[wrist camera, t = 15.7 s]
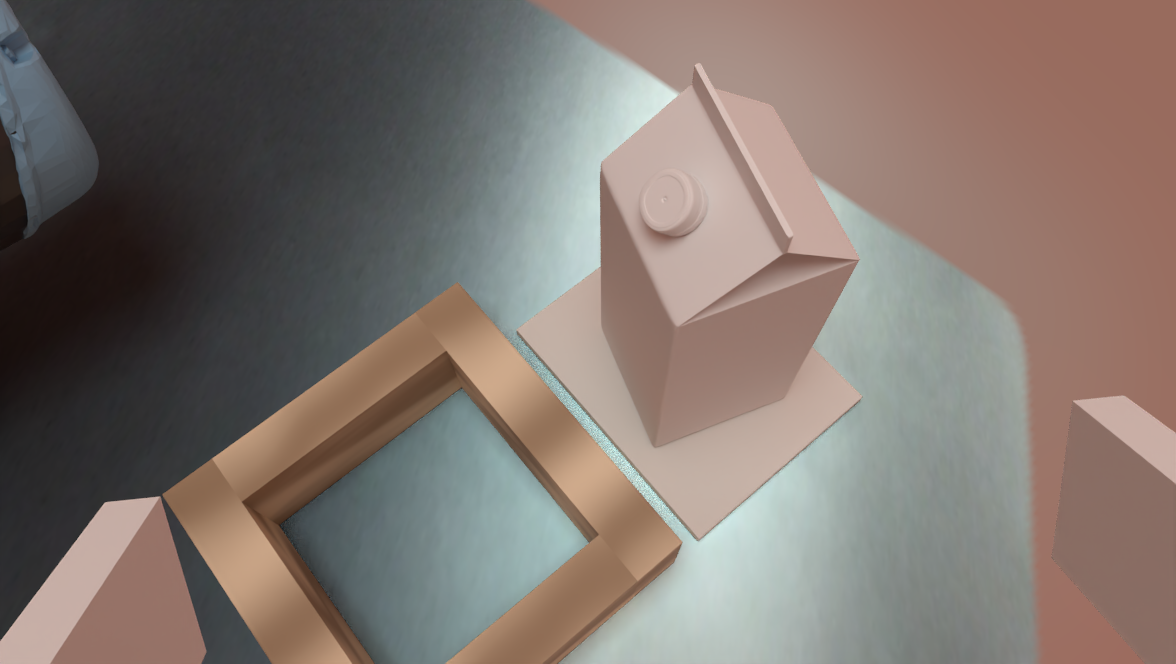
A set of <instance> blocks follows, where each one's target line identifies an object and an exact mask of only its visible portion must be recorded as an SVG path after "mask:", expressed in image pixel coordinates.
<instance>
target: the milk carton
mask: <svg viewBox="0 0 1176 664" xmlns="http://www.w3.org/2000/svg"><path fill="white" fill-rule="evenodd" d="M600 225H601V326H602V330H603V332H604V335H605V337H606V340H607V342H608V344H609V347H610V349H611V351H612V354H613V356H614V358H615V360H616V363H617V365H618V367H619V370H620V372H621V374H622V377H623V379H624V381H625V384H626V386H627V388H628V391H629V393H630V395H631V398H632V400H633V402H634V404H635V407H636V409H637V411H638V414H639V416H640V418H641V421H642V423H643V425H644V428H645V430H646V432H647V434H648V437H649V439H650V441H651V443H652V445H653V446H654V447H658V446H661V445H663V444H666V443H668V442H671V441H674V440H676V439H679V438H681V437H684V436H687V435H689V434H692V433H694V432H697V431H700V430H702V429H705V428H707V427H710V426H712V425H715V424H718V423H720V422H723V421H725V420H728V419H731V418H733V417H736V416H738V415H741V414H744V413H746V412H749V411H751V410H754V409H757V408H759V407H762V406H764V405H767V404H770V403H772V402H775V401H777V400H780V399H783V398H784V397H785V395H786V394H787V392H788V390H789V388H790V386H791V384H792V383H793V381H794V379H795V377H796V375H797V373H798V371H799V370H800V368H801V366H802V364H803V362H804V360H805V359H806V357H807V355H808V353H809V351H810V349H811V348H812V346H813V344H814V342H815V340H816V338H817V337H818V335H819V333H820V331H821V329H822V327H823V326H824V324H825V322H826V320H827V318H828V316H829V314H830V313H831V311H832V309H833V307H834V305H835V303H836V302H837V300H838V298H839V296H840V294H841V292H842V291H843V289H844V287H845V285H846V283H847V281H848V280H849V278H850V276H851V274H852V272H853V270H854V268H855V267H856V265H857V263H858V261H859V260H860V259H859V257H858V255H857V253H856V251H855V249H854V247H853V246H852V244H851V242H850V240H849V239H848V237H847V235H846V233H845V232H844V230H843V228H842V226H841V225H840V223H839V221H838V219H837V218H836V216H835V214H834V212H833V211H832V209H831V207H830V205H829V204H828V202H827V200H826V198H825V197H824V195H823V193H822V191H821V190H820V188H819V186H818V184H817V183H816V181H815V179H814V177H813V176H812V174H811V172H810V170H809V169H808V167H807V165H806V163H805V162H804V160H803V158H802V156H801V155H800V153H799V151H798V149H797V148H796V146H795V144H794V142H793V141H792V139H791V137H790V136H789V134H788V132H787V130H786V129H785V127H784V125H783V123H782V121H781V120H780V118H779V117H778V115H777V113H776V111H775V110H774V108H773V107H772V106H771V105H769V104H766V103H763V102H759V101H756V100H752V99H749V98H745V97H742V96H739V95H735V94H732V93H728V92H725V91H722V90H718V89H715V88H713V86H712V84H711V82H710V80H709V78H708V77H707V75H706V73H705V71H704V69H703V67H702V66H701V64H700V63H698V64H695V66H694V73H693V81H692V84H691V85H690V86H689V87H688V88H687V89H686V90H684V91H683V92H682V93H681V94H680V95H679V96H677V97H676V98H675V99H674V100H673V101H672V102H670V103H669V104H668V105H667V106H666V107H665V108H663V109H662V110H661V111H660V112H659V113H658V114H657V115H655V116H654V117H653V118H652V119H651V120H650V121H648V122H647V123H646V124H645V125H644V126H643V127H641V128H640V129H639V130H638V131H637V132H636V133H634V134H633V135H632V136H631V137H630V138H629V139H628V140H626V141H625V142H624V143H623V144H622V145H621V146H619V147H618V148H617V149H616V150H615V151H614V152H612V153H611V154H610V155H609V156H608V157H607V158H606V159H605V160H603V161H602V163H601V172H600Z"/></svg>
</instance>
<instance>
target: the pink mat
mask: <svg viewBox="0 0 1176 664" xmlns="http://www.w3.org/2000/svg"><path fill="white" fill-rule="evenodd" d="M516 330H517V334H518V335H519V337H520V338H521V339H522V340H523V341H524V342H525V343H526V345H527V346H528V347H529V348H530V349H531V350H532V352H533V353H534V354H535V355H536V356H537V357H538V358H539V360H540V361H541V362H542V363H543V364H544V365H545V366H546V368H547V369H548V370H549V371H550V372H551V373H552V375H553V376H554V377H555V378H556V379H557V380H558V381H559V383H560V384H561V385H562V386H563V387H564V388H565V389H566V391H567V392H568V393H569V394H570V395H571V396H572V397H573V399H574V400H575V401H576V402H577V403H578V404H579V406H580V407H581V408H582V409H583V410H584V411H585V412H586V414H587V415H588V416H589V417H590V418H591V419H592V420H593V422H594V423H595V424H596V425H597V426H598V427H599V428H600V430H601V431H602V432H603V433H604V434H605V435H606V437H607V438H608V439H609V440H610V441H611V442H612V443H613V445H614V446H615V447H616V448H617V449H618V450H619V451H620V453H621V454H622V455H623V456H624V457H625V458H626V459H627V461H628V462H629V463H630V464H631V465H632V466H633V468H634V469H635V470H636V471H637V472H638V473H639V474H640V476H641V477H642V478H643V479H644V480H645V481H646V482H647V484H648V485H649V486H650V487H651V488H652V489H653V491H654V492H655V493H656V494H657V495H658V496H659V497H660V499H661V500H662V501H663V502H664V503H665V504H666V505H667V507H668V508H669V509H670V510H671V511H672V512H673V513H674V515H675V516H676V517H677V518H678V519H679V520H680V522H681V523H682V524H683V525H684V526H685V527H686V528H687V530H688V531H689V532H690V533H691V534H692V535H693V536H694V538H695V539H696V540H697V541H699V540H700V539H701V538H702V537H703V536H705V535H706V534H707V533H708V532H709V531H710V530H712V529H713V528H714V527H715V526H716V525H717V524H718V523H720V522H721V521H722V520H723V519H724V518H725V517H726V516H728V515H729V514H730V513H731V512H732V511H733V510H735V509H736V508H737V507H738V506H739V505H740V504H741V503H743V502H744V501H745V500H746V499H747V498H748V497H749V496H751V495H752V494H753V493H754V492H755V491H756V490H758V489H759V488H760V487H761V486H762V485H763V484H764V483H766V482H767V481H768V480H769V479H770V478H771V477H772V476H774V475H775V474H776V473H777V472H778V471H779V470H781V469H782V468H783V467H784V466H785V465H786V464H787V463H789V462H790V461H791V460H792V459H793V458H794V457H796V456H797V455H798V454H799V453H800V452H801V451H802V450H804V449H805V448H806V447H807V446H808V445H809V444H810V443H812V442H813V441H814V440H815V439H816V438H817V437H819V436H820V435H821V434H822V433H823V432H824V431H825V430H827V429H828V428H829V427H830V426H831V425H832V424H833V423H835V422H836V421H837V420H838V419H839V418H840V417H842V416H843V415H844V414H845V413H846V412H847V411H848V410H850V409H851V408H852V407H853V406H854V405H855V404H856V403H858V402H859V401H860V400H861V398H862V396H861V395H860V394H859V393H858V392H857V391H856V390H855V389H854V388H853V387H852V386H851V385H850V384H849V383H848V382H847V381H846V380H845V379H844V378H843V377H842V376H841V375H840V374H839V373H838V372H837V371H836V370H835V369H834V368H833V367H832V366H831V365H830V364H829V363H828V362H827V361H826V360H825V359H824V358H823V357H822V356H821V355H820V354H819V353H818V352H817V351H816V350H815V349H814V348H813V347H812V348H811V349H810V351H809V353H808V355H807V357H806V359H805V360H804V362H803V364H802V366H801V368H800V370H799V371H798V373H797V375H796V377H795V379H794V381H793V383H792V384H791V386H790V388H789V390H788V392H787V394H786V395H785V397H784V398H783V399H780V400H777V401H775V402H772V403H770V404H767V405H764V406H762V407H759V408H757V409H754V410H751V411H749V412H746V413H744V414H741V415H738V416H736V417H733V418H731V419H728V420H725V421H723V422H720V423H718V424H715V425H712V426H710V427H707V428H705V429H702V430H700V431H697V432H694V433H692V434H689V435H687V436H684V437H681V438H679V439H676V440H674V441H671V442H668V443H666V444H663V445H661V446H658V447H654V446H653V445H652V443H651V441H650V439H649V437H648V434H647V432H646V430H645V428H644V425H643V423H642V421H641V418H640V416H639V414H638V411H637V409H636V407H635V404H634V402H633V400H632V398H631V395H630V393H629V391H628V388H627V386H626V384H625V381H624V379H623V377H622V374H621V372H620V370H619V367H618V365H617V363H616V360H615V358H614V356H613V354H612V351H611V349H610V347H609V344H608V342H607V340H606V337H605V335H604V332H603V330H602V326H601V267H599V268H598V269H597V270H595V271H594V272H593V273H591V274H590V275H589V276H587V277H586V278H585V279H583V280H582V281H581V282H579V283H578V284H577V285H575V286H574V287H573V288H571V289H570V290H569V291H567V292H566V293H565V294H563V295H562V296H561V297H559V298H558V299H556V300H555V301H554V302H552V303H551V304H550V305H548V306H547V307H546V308H544V309H543V310H542V311H540V312H539V313H538V314H536V315H535V316H534V317H532V318H531V319H530V320H528V321H527V322H526V323H524V324H523V325H522V326H520V327H519V328H518V329H516Z"/></svg>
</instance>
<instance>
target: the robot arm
mask: <svg viewBox="0 0 1176 664" xmlns="http://www.w3.org/2000/svg"><path fill="white" fill-rule="evenodd" d="M98 167H99V161H98V155H97V152H96V148H95V146H94V144H93V142H92V140H91V138H90V136H89V134H88V132H87V131H86V129H85V127H84V125H83V123H82V122H81V120H80V118H79V116H78V115H77V113H76V111H75V110H74V108H73V106H72V105H71V103H70V101H69V100H68V98H67V96H66V95H65V93H64V92H63V90H62V88H61V87H60V85H59V83H58V82H57V80H56V78H55V77H54V75H53V74H52V72H51V71H50V69H49V68H48V66H47V64H46V63H45V61H44V60H43V58H42V57H41V55H40V54H39V52H38V51H37V49H36V48H35V46H33V45H32V43H31V42H30V40H29V39H28V35H27V33H26V32H25V30H24V29H23V27H22V26H21V24H20V23H19V21H18V20H17V18H16V16H15V15H14V13H13V11H12V9H11V7H10V6H9V4H8V3H7V1H6V0H0V251H1V250H3V249H5V248H6V247H8V246H10V245H12V244H13V243H15V242H17V241H19V240H21V239H26V238H28V237H30V236H32V235H33V234H34V233H35V232H36V231H37V229H38V228H39V225H40V224H41V223H43V222H44V221H46V220H47V219H49V218H50V217H52V216H53V215H55V214H56V213H58V212H59V211H61V210H62V209H64V208H65V207H67V206H68V205H70V204H71V203H73V202H74V201H76V200H77V199H79V198H80V197H82V196H83V195H84V194H85V193H86V192H87V191H88V190H89V189H90V188H91V187H92V185H93V184H94V182H95V180H96V178H97V174H98ZM1052 559H1053V560H1054V561H1055V562H1056V564H1057V565H1058V566H1059V567H1060V568H1061V569H1062V570H1063V572H1064V573H1065V574H1066V575H1067V576H1068V577H1069V578H1070V579H1071V581H1073V583H1074V584H1075V585H1076V586H1077V587H1078V588H1079V590H1080V591H1081V592H1082V593H1083V594H1084V595H1085V596H1086V598H1087V599H1088V600H1089V601H1090V602H1091V603H1092V604H1093V605H1094V607H1095V608H1096V609H1097V610H1098V611H1099V612H1100V613H1101V614H1102V616H1103V617H1104V618H1105V619H1106V620H1107V621H1108V622H1109V623H1110V625H1111V626H1112V627H1113V628H1114V629H1115V630H1116V631H1117V633H1118V634H1119V635H1120V636H1121V637H1122V638H1123V639H1124V640H1125V642H1126V643H1127V644H1128V645H1129V646H1130V647H1131V648H1132V650H1133V651H1134V652H1135V653H1136V654H1137V655H1138V656H1139V657H1140V659H1141V660H1142V661H1143V662H1144V663H1145V664H1176V433H1175V432H1173V431H1172V430H1171V429H1169V428H1168V427H1166V426H1165V425H1164V424H1162V423H1161V422H1160V421H1158V420H1157V419H1156V418H1154V417H1153V416H1151V415H1150V414H1149V413H1147V412H1146V411H1145V410H1143V409H1142V408H1140V407H1139V406H1138V405H1136V404H1135V403H1134V402H1132V401H1131V400H1129V399H1128V398H1127V397H1125V396H1114V397H1105V398H1095V399H1085V400H1076V401H1073V402H1072V410H1071V417H1070V425H1069V432H1068V439H1067V447H1066V455H1065V462H1064V469H1063V476H1062V484H1061V491H1060V499H1059V507H1058V514H1057V521H1056V529H1055V536H1054V544H1053V551H1052ZM205 654H206V648H205V645H204V642H203V638H202V635H201V632H200V628H199V625H198V622H197V618H196V615H195V612H194V608H193V605H192V602H191V598H190V595H189V591H188V588H187V585H186V581H185V578H184V575H183V571H182V568H181V565H180V561H179V558H178V555H177V551H176V548H175V545H174V541H173V538H172V535H171V531H170V528H169V524H168V521H167V518H166V514H165V511H164V508H163V504H162V501H161V498H160V497H151V498H142V499H132V500H123V501H113V502H105V503H104V504H103V506H102V507H101V508H100V510H99V511H98V512H97V514H96V515H95V516H94V518H93V519H92V520H91V522H90V523H89V524H88V526H87V527H86V528H85V530H84V531H83V532H82V534H81V535H80V536H79V538H78V539H77V540H76V541H75V543H74V544H73V545H72V547H71V548H70V549H69V551H68V552H67V553H66V555H65V556H64V557H63V559H62V560H61V561H60V563H59V564H58V565H57V567H56V568H55V569H54V571H53V572H52V573H51V575H50V576H49V577H48V579H47V580H46V581H45V583H44V584H43V585H42V587H41V588H40V589H39V591H38V592H37V593H36V595H35V596H34V597H33V599H32V600H31V601H30V603H29V604H28V605H27V607H26V608H25V609H24V611H23V612H22V613H21V614H20V616H19V617H18V618H17V620H16V621H15V622H14V624H13V625H12V626H11V628H10V629H9V630H8V632H7V633H6V634H5V636H4V637H3V638H2V640H1V641H0V664H201V663H202V661H203V658H204V656H205Z"/></svg>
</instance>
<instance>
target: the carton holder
mask: <svg viewBox="0 0 1176 664" xmlns="http://www.w3.org/2000/svg"><path fill="white" fill-rule="evenodd" d="M461 387H462V388H463V390H464V391H465V392H466V393H467V394H468V396H469V397H470V398H471V399H472V401H473V402H474V403H475V404H476V405H477V407H478V408H479V409H480V410H481V411H482V413H483V414H484V415H485V416H486V418H487V419H488V420H489V421H490V422H491V424H492V425H493V426H494V427H495V428H496V430H497V431H498V432H499V433H500V435H501V436H502V437H503V438H504V439H505V441H506V442H507V443H508V444H509V445H510V447H511V448H512V449H513V450H514V452H515V453H516V454H517V455H518V456H519V458H520V459H521V460H522V461H523V462H524V464H525V465H526V466H527V467H528V469H529V470H530V471H531V472H532V473H533V475H534V476H535V477H536V478H537V479H538V481H539V482H540V483H541V484H542V486H543V487H544V488H545V489H546V490H547V492H548V493H549V494H550V495H551V496H552V498H553V499H554V500H555V501H556V503H557V504H558V505H559V506H560V507H561V509H562V510H563V511H564V512H565V513H566V515H567V516H568V517H569V518H570V520H571V521H572V522H573V523H574V524H575V526H576V527H577V528H578V529H579V530H580V532H581V533H582V534H583V535H584V537H585V538H586V539H587V540H588V541H589V544H587V545H586V546H585V547H584V548H583V549H581V550H580V551H579V552H578V553H577V554H575V555H574V556H573V557H572V558H571V559H569V560H568V561H567V562H566V563H565V564H564V565H562V566H561V567H560V568H559V569H558V570H556V571H555V572H554V573H553V574H552V575H550V576H549V577H548V578H547V579H546V580H544V581H543V582H542V583H541V584H540V585H538V586H537V587H536V588H535V589H534V590H533V591H531V592H530V593H529V594H528V595H527V596H525V597H524V598H523V599H522V600H521V601H519V602H518V603H517V604H516V605H515V606H513V607H512V608H511V609H510V610H509V611H507V612H506V613H505V614H504V615H503V616H501V617H500V618H499V619H498V620H497V621H496V622H494V623H493V624H492V625H491V626H490V627H488V628H487V629H486V630H485V631H484V632H482V633H481V634H480V635H479V636H478V637H476V638H475V639H474V640H473V641H472V642H470V643H469V644H468V645H467V646H466V647H465V648H463V649H462V650H461V651H460V652H459V653H457V654H456V655H455V656H454V657H453V658H451V659H450V660H449V661H448V662H447V663H445V664H557V663H559V662H560V661H561V660H562V659H563V658H564V657H565V656H567V655H568V654H569V653H570V652H571V651H572V650H574V649H575V648H576V647H577V646H578V645H579V644H580V643H582V642H583V641H584V640H585V639H586V638H587V637H588V636H590V635H591V634H592V633H593V632H594V631H595V630H597V629H598V628H599V627H600V626H601V625H602V624H603V623H605V622H606V621H607V620H608V619H609V618H610V617H611V616H613V615H614V614H615V613H616V612H617V611H618V610H620V609H621V608H622V607H623V606H624V605H625V604H626V603H628V602H629V601H630V600H631V599H632V598H633V597H634V596H636V595H637V594H638V593H639V592H640V591H641V590H643V589H644V588H645V587H646V586H647V585H648V584H649V583H651V582H652V581H653V580H654V579H655V578H656V577H657V576H659V575H660V574H661V573H662V572H663V571H664V570H666V569H667V568H668V567H669V566H670V565H671V564H672V563H674V561H675V559H676V557H677V554H678V552H679V549H680V547H681V545H682V541H681V540H680V539H679V538H678V537H677V535H676V534H675V533H674V532H673V531H672V530H671V528H670V527H669V526H668V525H667V524H666V523H665V522H664V520H663V519H662V518H661V517H660V516H659V515H658V513H657V512H656V511H655V510H654V509H653V508H652V506H651V505H650V504H649V503H648V502H647V501H646V500H645V498H644V497H643V496H642V495H641V494H640V493H639V491H638V490H637V489H636V488H635V487H634V486H633V484H632V483H631V482H630V481H629V480H628V479H627V478H626V476H625V475H624V474H623V473H622V472H621V471H620V469H619V468H618V467H617V466H616V465H615V464H614V462H613V461H612V460H611V459H610V458H609V457H608V456H607V454H606V453H605V452H604V451H603V450H602V449H601V447H600V446H599V445H598V444H597V443H596V442H595V440H594V439H593V438H592V437H591V436H590V435H589V434H588V432H587V431H586V430H585V429H584V428H583V427H582V425H581V424H580V423H579V422H578V421H577V420H576V418H575V417H574V416H573V415H572V414H571V413H570V412H569V410H568V409H567V408H566V407H565V406H564V405H563V403H562V402H561V401H560V400H559V399H558V398H557V396H556V395H555V394H554V393H553V392H552V391H551V390H550V388H549V387H548V386H547V385H546V384H545V383H544V381H543V380H542V379H541V378H540V377H539V376H538V374H537V373H536V372H535V371H534V370H533V369H532V368H531V366H530V365H529V364H528V363H527V362H526V361H525V359H524V358H523V357H522V356H521V355H520V354H519V352H518V351H517V350H516V349H515V348H514V347H513V346H512V344H511V343H510V342H509V341H508V340H507V339H506V337H505V336H504V335H503V334H502V333H501V332H500V330H499V329H498V328H497V327H496V326H495V325H494V324H493V322H492V321H491V320H490V319H489V318H488V317H487V315H486V314H485V313H484V312H483V311H482V310H481V308H480V307H479V306H478V305H477V304H476V303H475V302H474V300H473V299H472V298H471V297H470V296H469V295H468V293H467V292H466V291H465V290H464V289H463V288H462V286H461V285H460V284H459V283H458V282H457V283H456V284H454V285H453V286H452V287H450V288H449V289H447V290H446V291H445V292H443V293H442V294H440V295H439V296H438V297H436V298H435V299H433V300H432V301H431V302H429V303H428V304H427V305H425V306H424V307H422V308H421V309H420V310H418V311H417V312H415V313H414V314H413V315H411V316H410V317H408V318H407V319H406V320H404V321H403V322H401V323H400V324H399V325H397V326H396V327H395V328H393V329H392V330H390V331H389V332H388V333H386V334H385V335H383V336H382V337H381V338H379V339H378V340H376V341H375V342H374V343H372V344H371V345H370V346H368V347H367V348H365V349H364V350H363V351H361V352H360V353H358V354H357V355H356V356H354V357H353V358H351V359H350V360H349V361H347V362H346V363H344V364H343V365H342V366H340V367H339V368H338V369H336V370H335V371H333V372H332V373H331V374H329V375H328V376H326V377H325V378H324V379H322V380H321V381H319V382H318V383H317V384H315V385H314V386H312V387H311V388H310V389H308V390H307V391H306V392H304V393H303V394H301V395H300V396H299V397H297V398H296V399H294V400H293V401H292V402H290V403H289V404H287V405H286V406H285V407H283V408H282V409H281V410H279V411H278V412H276V413H275V414H274V415H272V416H271V417H269V418H268V419H267V420H265V421H264V422H262V423H261V424H260V425H258V426H257V427H255V428H254V429H253V430H251V431H250V432H249V433H247V434H246V435H244V436H243V437H242V438H240V439H239V440H237V441H236V442H235V443H233V444H232V445H230V446H229V447H228V448H226V449H225V450H224V451H222V452H221V453H219V454H218V455H217V456H215V457H214V458H212V459H211V460H210V461H208V462H207V463H205V464H204V465H203V466H201V467H200V468H198V469H197V470H196V471H194V472H193V473H192V474H190V475H189V476H187V477H186V478H185V479H183V480H182V481H180V482H179V483H178V484H176V485H175V486H173V487H172V488H171V489H169V490H168V491H166V492H165V493H164V494H162V495H163V497H164V498H165V500H166V501H167V503H168V504H169V506H170V507H171V509H172V510H173V512H174V514H175V515H176V517H177V518H178V520H179V521H180V523H181V524H182V526H183V527H184V529H185V530H186V532H187V534H188V535H189V537H190V538H191V540H192V541H193V543H194V544H195V546H196V547H197V549H198V550H199V552H200V553H201V555H202V557H203V558H204V560H205V561H206V563H207V564H208V566H209V567H210V569H211V570H212V572H213V573H214V575H215V577H216V578H217V580H218V581H219V583H220V584H221V586H222V587H223V589H224V590H225V592H226V593H227V595H228V596H229V598H230V600H231V601H232V603H233V604H234V606H235V607H236V609H237V610H238V612H239V613H240V615H241V616H242V618H243V620H244V621H245V623H246V624H247V626H248V627H249V629H250V630H251V632H252V633H253V635H254V636H255V638H256V640H257V641H258V643H259V644H260V646H261V647H262V649H263V650H264V652H265V653H266V655H267V656H268V658H269V659H270V661H271V663H272V664H375V663H374V662H373V661H372V659H371V658H370V656H369V655H368V653H367V652H366V650H365V649H364V648H363V646H362V645H361V643H360V642H359V640H358V639H357V637H356V636H355V635H354V633H353V632H352V630H351V629H350V627H349V626H348V624H347V623H346V622H345V620H344V619H343V617H342V616H341V614H340V613H339V611H338V610H337V609H336V607H335V606H334V604H333V603H332V601H331V600H330V599H329V597H328V596H327V594H326V593H325V591H324V590H323V588H322V587H321V586H320V584H319V583H318V581H317V580H316V578H315V577H314V575H313V574H312V573H311V571H310V570H309V568H308V567H307V565H306V564H305V562H304V561H303V560H302V558H301V557H300V555H299V554H298V552H297V551H296V549H295V548H294V547H293V545H292V544H291V542H290V541H289V539H288V538H287V536H286V535H285V534H284V532H283V531H282V529H281V528H280V526H279V525H280V524H281V523H282V522H284V521H285V520H286V519H288V518H289V517H290V516H292V515H293V514H294V513H296V512H297V511H298V510H300V509H301V508H302V507H303V506H305V505H306V504H307V503H309V502H310V501H311V500H313V499H314V498H315V497H317V496H318V495H319V494H321V493H322V492H323V491H325V490H326V489H327V488H329V487H330V486H331V485H333V484H334V483H335V482H337V481H338V480H339V479H341V478H342V477H343V476H345V475H346V474H347V473H349V472H350V471H351V470H353V469H354V468H355V467H357V466H358V465H359V464H361V463H362V462H363V461H365V460H366V459H367V458H368V457H370V456H371V455H372V454H374V453H375V452H376V451H378V450H379V449H380V448H382V447H383V446H384V445H386V444H387V443H388V442H390V441H391V440H392V439H394V438H395V437H396V436H398V435H399V434H400V433H402V432H403V431H404V430H406V429H407V428H408V427H410V426H411V425H412V424H414V423H415V422H416V421H418V420H419V419H420V418H422V417H423V416H424V415H426V414H427V413H428V412H430V411H431V410H432V409H433V408H435V407H436V406H437V405H439V404H440V403H441V402H443V401H444V400H445V399H447V398H448V397H449V396H451V395H452V394H453V393H455V392H456V391H457V390H459V389H460V388H461Z"/></svg>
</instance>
